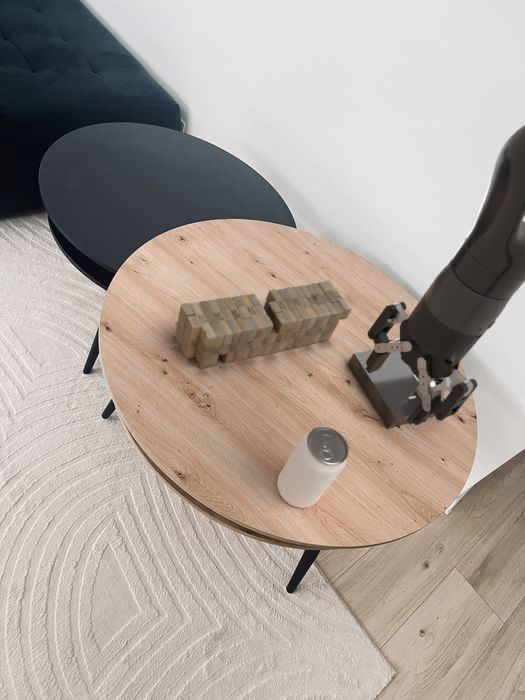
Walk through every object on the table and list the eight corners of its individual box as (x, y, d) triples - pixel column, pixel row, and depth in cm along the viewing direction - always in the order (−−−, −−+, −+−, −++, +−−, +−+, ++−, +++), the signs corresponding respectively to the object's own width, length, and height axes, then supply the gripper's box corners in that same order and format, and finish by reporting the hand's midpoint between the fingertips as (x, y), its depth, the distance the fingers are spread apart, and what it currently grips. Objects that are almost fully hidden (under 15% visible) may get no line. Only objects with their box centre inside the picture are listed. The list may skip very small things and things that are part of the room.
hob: (448, 418, 93) (458, 408, 91) (391, 434, 87) (399, 424, 85) (402, 353, 101) (410, 342, 99) (347, 363, 95) (354, 352, 93)
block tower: (190, 374, 85) (337, 339, 98) (199, 340, 79) (354, 308, 92) (173, 337, 89) (316, 309, 102) (180, 302, 83) (331, 277, 96)
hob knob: (428, 382, 93) (444, 363, 89) (442, 400, 91) (458, 382, 87) (411, 387, 91) (427, 368, 88) (425, 405, 89) (441, 387, 86)
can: (273, 502, 74) (301, 459, 65) (279, 462, 78) (306, 417, 69) (317, 514, 74) (350, 474, 66) (321, 474, 79) (353, 431, 70)
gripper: (393, 268, 58) (338, 361, 70) (484, 365, 52) (406, 449, 63) (437, 258, 62) (378, 347, 74) (527, 346, 56) (447, 429, 67)
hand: (391, 394), depth 69 cm, fingers open, 8 cm apart
